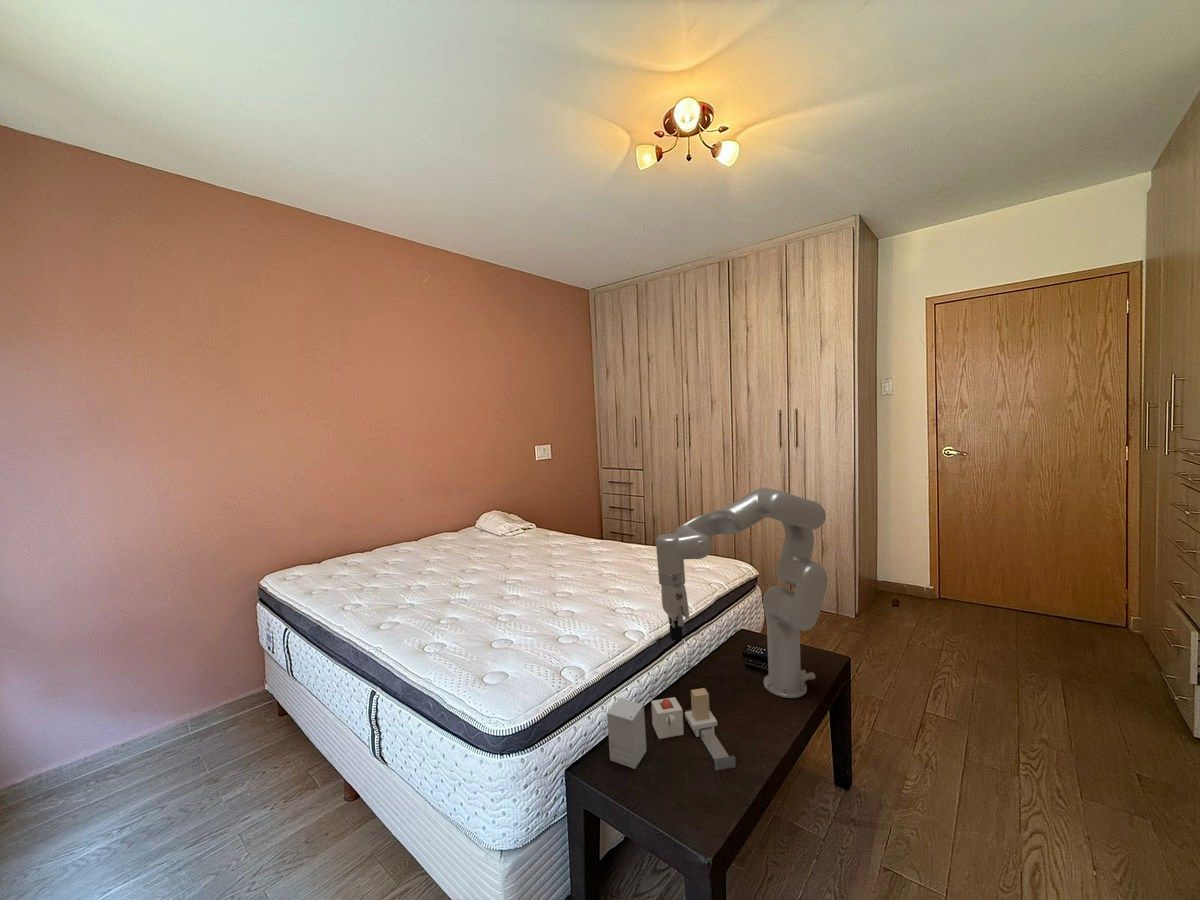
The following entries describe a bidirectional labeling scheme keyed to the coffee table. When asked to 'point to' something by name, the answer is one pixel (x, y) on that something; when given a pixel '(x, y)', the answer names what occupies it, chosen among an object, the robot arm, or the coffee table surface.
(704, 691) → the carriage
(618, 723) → the supplement box
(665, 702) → the button
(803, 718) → the coffee table surface
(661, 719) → the white cube box
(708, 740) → the rail
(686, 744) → the coffee table surface
